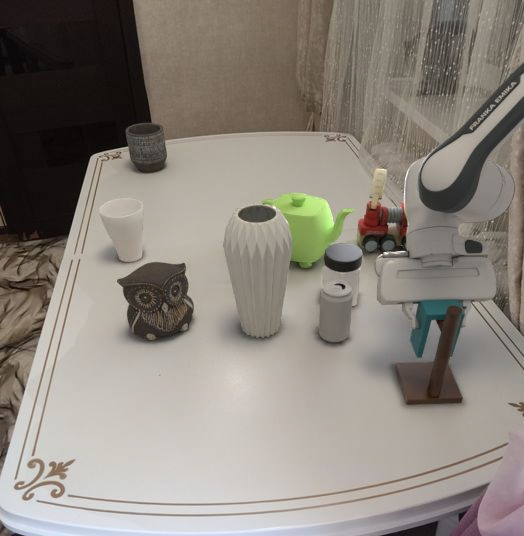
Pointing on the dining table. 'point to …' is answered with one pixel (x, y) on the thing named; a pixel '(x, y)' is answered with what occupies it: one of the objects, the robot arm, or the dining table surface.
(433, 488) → the dining table surface
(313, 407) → the dining table surface
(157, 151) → the planter
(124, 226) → the cup
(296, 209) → the teapot
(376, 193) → the toy fire truck
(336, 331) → the beverage can
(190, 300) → the figurine
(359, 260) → the jar
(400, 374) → the peg stand
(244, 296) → the vase
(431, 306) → the clip
